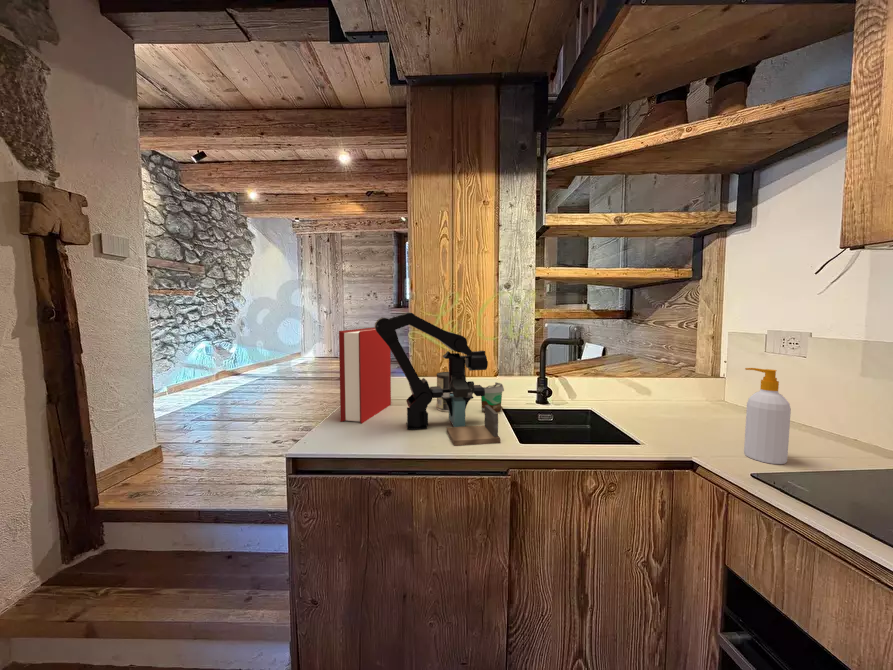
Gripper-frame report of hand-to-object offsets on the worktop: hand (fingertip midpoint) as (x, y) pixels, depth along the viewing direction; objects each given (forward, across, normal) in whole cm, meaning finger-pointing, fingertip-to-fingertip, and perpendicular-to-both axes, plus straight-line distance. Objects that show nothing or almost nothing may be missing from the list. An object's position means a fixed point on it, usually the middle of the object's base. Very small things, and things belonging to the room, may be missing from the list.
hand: (456, 415), depth 123 cm
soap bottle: (+3, +75, -42) cm, 86 cm away
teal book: (+2, 0, 0) cm, 2 cm away
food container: (+3, +18, +13) cm, 22 cm away
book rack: (+3, +2, -14) cm, 14 cm away
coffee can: (+3, +1, +19) cm, 19 cm away
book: (+3, -30, +19) cm, 36 cm away
